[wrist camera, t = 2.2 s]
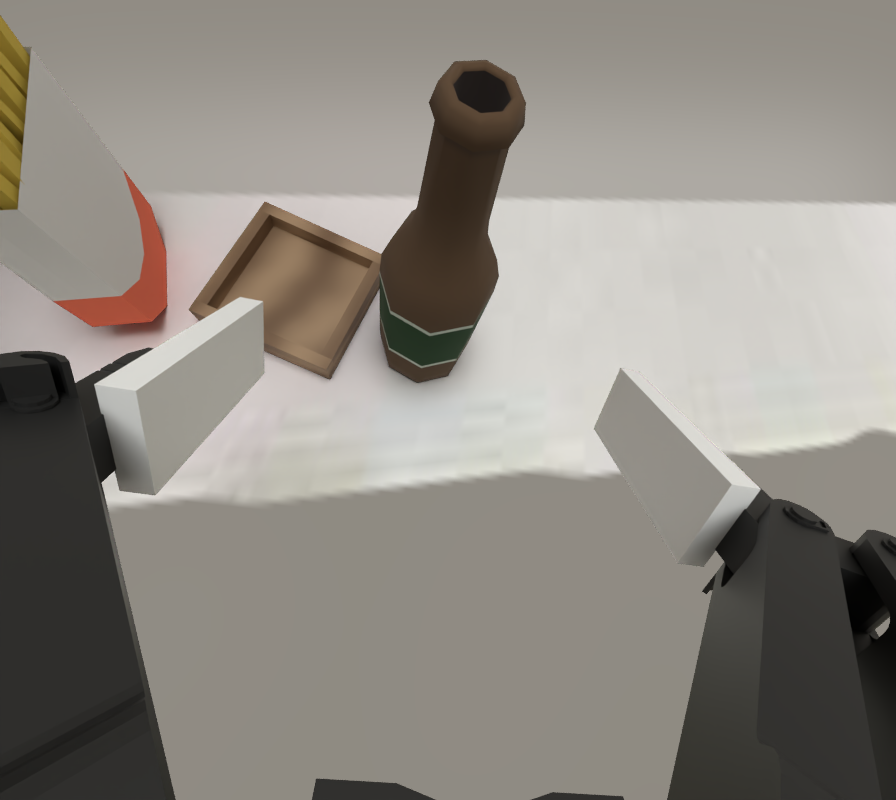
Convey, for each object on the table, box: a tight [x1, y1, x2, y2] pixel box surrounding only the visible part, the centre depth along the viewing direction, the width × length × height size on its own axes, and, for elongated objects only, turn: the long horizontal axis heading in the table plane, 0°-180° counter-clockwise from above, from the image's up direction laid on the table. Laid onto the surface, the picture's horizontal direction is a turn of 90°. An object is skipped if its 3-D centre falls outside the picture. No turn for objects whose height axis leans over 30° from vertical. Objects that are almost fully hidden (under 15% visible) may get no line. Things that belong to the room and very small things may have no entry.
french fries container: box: [0, 16, 167, 327], centre depth 27 cm, size 5×11×18 cm, turn 10°
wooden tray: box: [189, 202, 381, 379], centre depth 36 cm, size 12×12×2 cm
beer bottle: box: [379, 60, 526, 383], centre depth 26 cm, size 8×8×24 cm
